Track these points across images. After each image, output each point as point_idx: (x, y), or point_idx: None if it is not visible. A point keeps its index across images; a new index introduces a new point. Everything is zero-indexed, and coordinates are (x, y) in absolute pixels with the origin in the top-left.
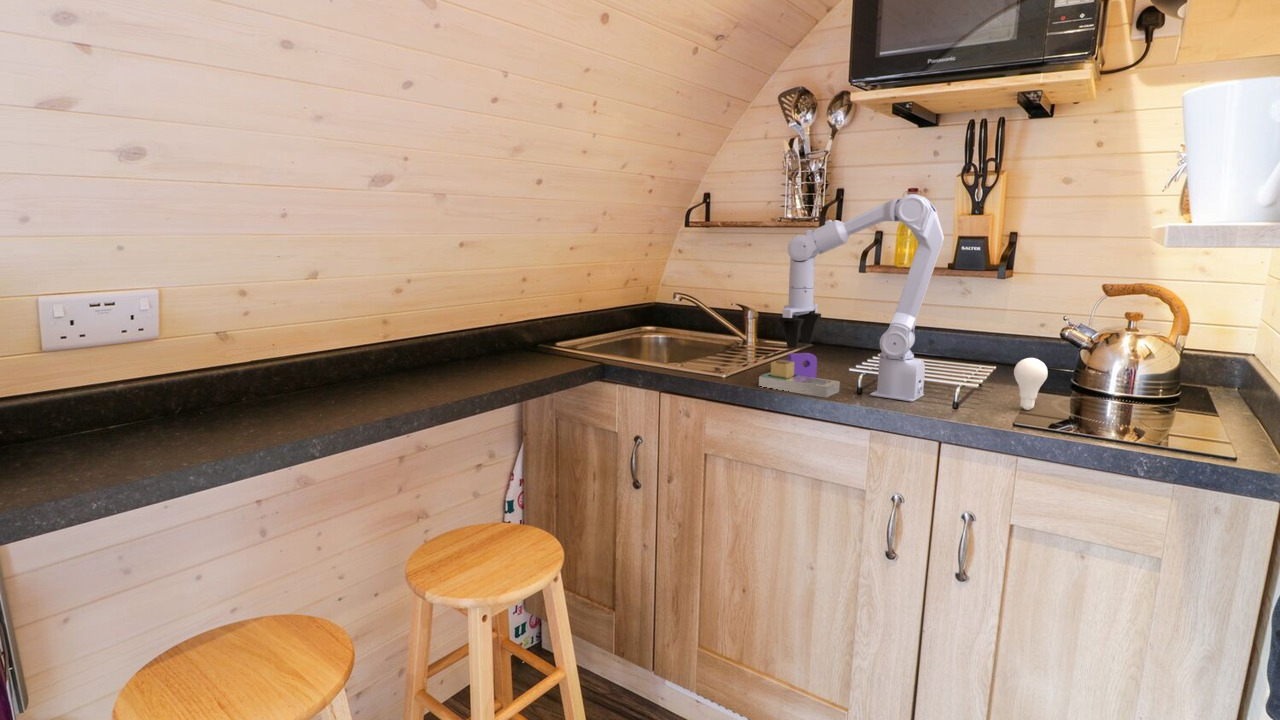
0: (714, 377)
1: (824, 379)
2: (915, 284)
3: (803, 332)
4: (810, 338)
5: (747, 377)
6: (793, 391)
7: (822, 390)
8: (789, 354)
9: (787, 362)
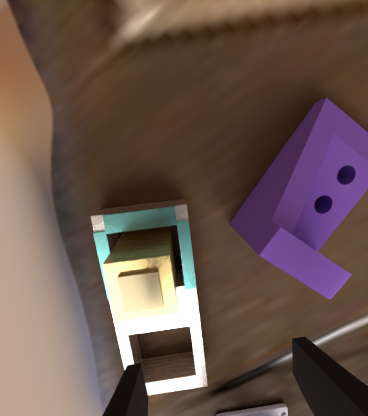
0: (95, 10)
1: (200, 354)
2: None
3: (335, 403)
4: (309, 405)
5: (181, 102)
6: None
7: None
8: (270, 239)
9: (144, 307)
